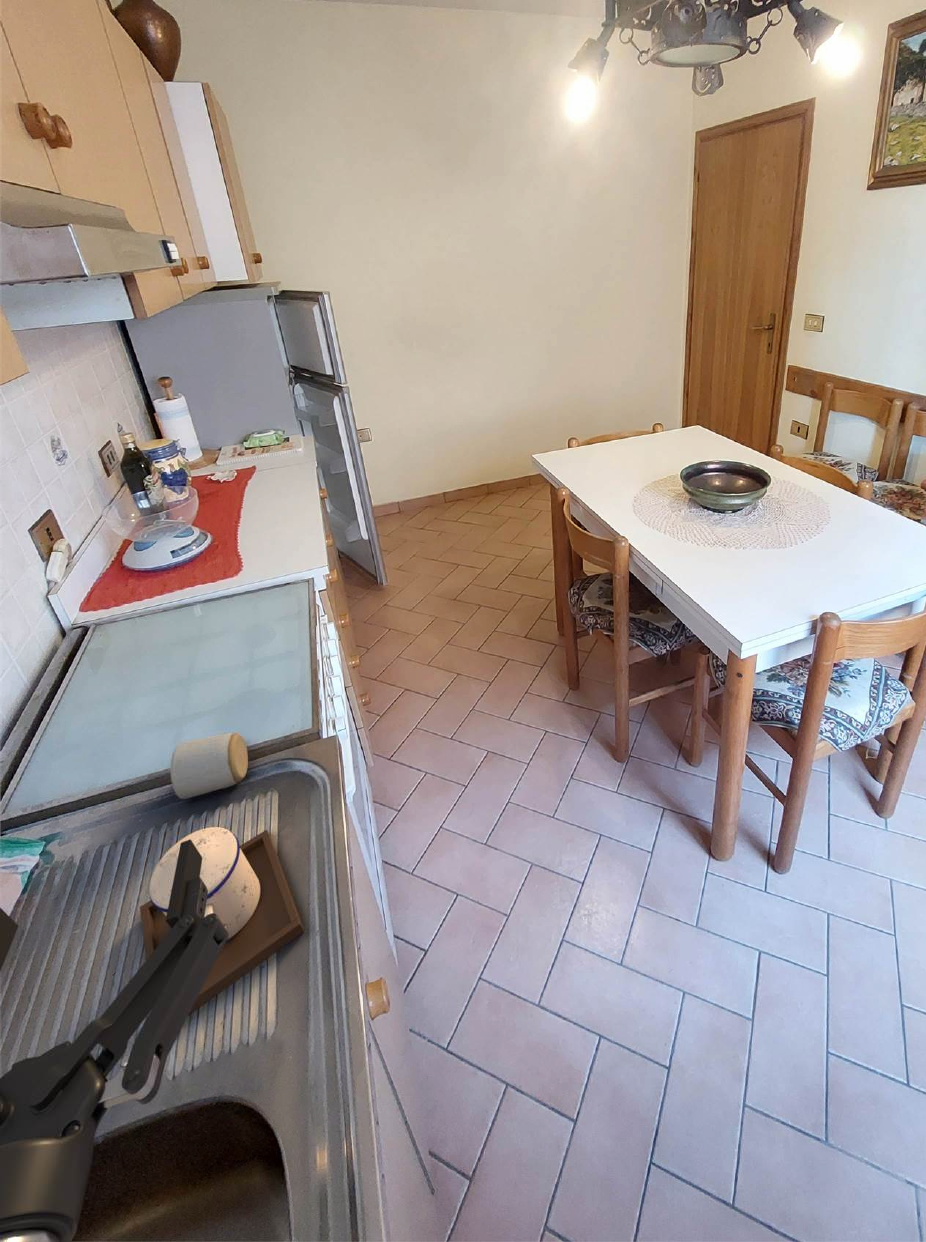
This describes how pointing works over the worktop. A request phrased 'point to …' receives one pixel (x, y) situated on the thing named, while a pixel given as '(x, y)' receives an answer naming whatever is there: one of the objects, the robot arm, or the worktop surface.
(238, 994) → the worktop surface
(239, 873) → the teacup with lid
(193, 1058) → the worktop surface
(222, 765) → the ceramic mug
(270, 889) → the rectangular tray
